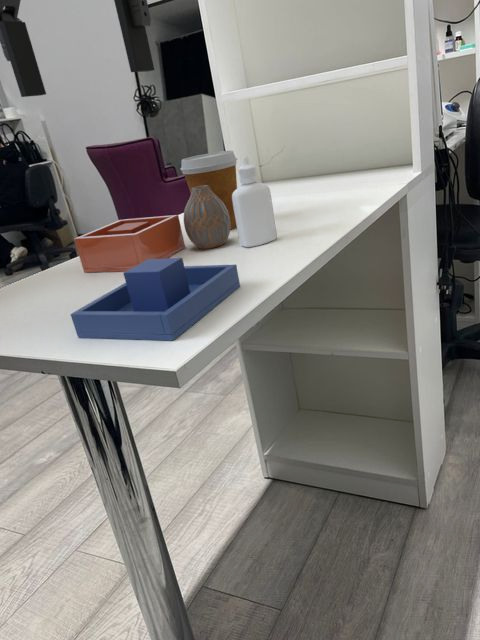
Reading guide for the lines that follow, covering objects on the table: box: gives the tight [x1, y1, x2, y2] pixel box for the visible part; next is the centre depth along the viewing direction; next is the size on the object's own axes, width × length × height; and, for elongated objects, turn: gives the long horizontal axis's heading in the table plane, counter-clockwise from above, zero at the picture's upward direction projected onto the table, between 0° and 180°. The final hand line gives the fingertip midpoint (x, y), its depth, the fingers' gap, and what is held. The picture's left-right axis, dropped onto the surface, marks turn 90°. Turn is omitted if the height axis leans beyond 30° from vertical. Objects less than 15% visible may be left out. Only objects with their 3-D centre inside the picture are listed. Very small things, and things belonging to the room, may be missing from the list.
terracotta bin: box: [73, 214, 186, 273], centre depth 81 cm, size 11×11×5 cm
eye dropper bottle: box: [232, 156, 278, 248], centre depth 77 cm, size 4×6×12 cm
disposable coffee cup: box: [179, 150, 238, 230], centre depth 91 cm, size 10×10×12 cm
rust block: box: [107, 222, 150, 235], centre depth 81 cm, size 4×4×4 cm
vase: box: [183, 185, 231, 250], centre depth 81 cm, size 7×7×9 cm
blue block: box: [123, 257, 190, 312], centre depth 57 cm, size 4×4×4 cm
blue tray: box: [69, 264, 241, 341], centre depth 58 cm, size 12×15×3 cm
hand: (85, 84), depth 52 cm, fingers open, 13 cm apart
